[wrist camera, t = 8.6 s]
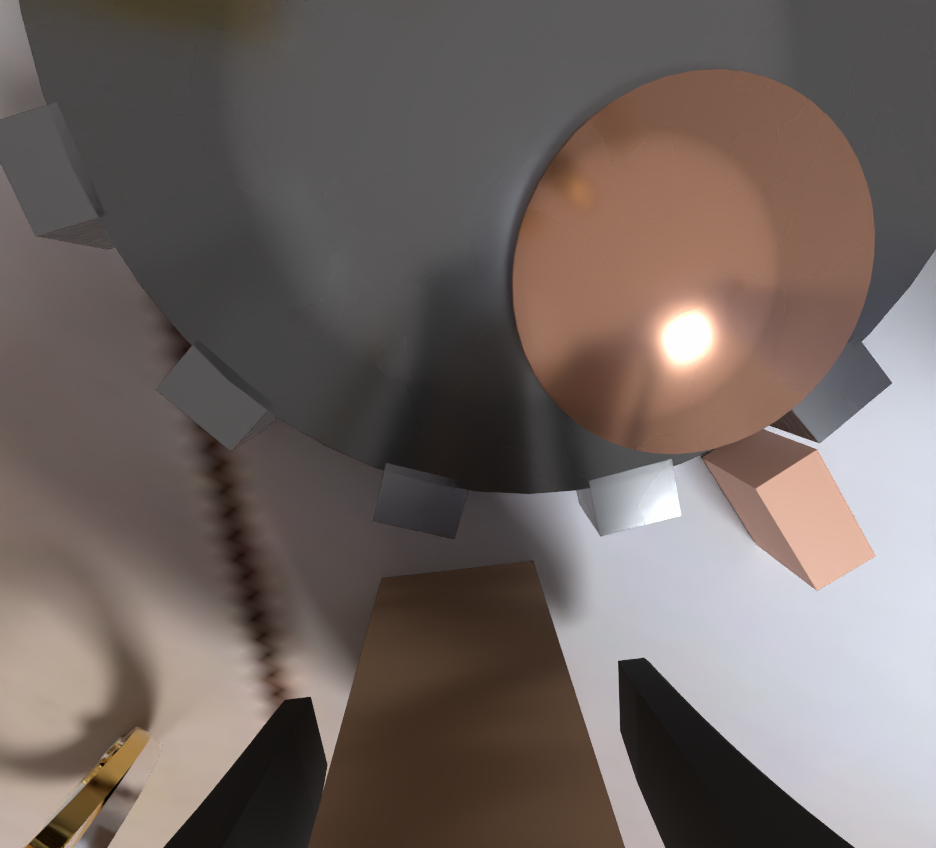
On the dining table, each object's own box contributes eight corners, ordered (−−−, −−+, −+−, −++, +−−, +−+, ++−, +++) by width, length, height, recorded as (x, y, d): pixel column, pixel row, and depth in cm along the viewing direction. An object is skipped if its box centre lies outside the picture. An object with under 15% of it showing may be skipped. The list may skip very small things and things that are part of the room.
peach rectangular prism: (702, 457, 11) (755, 488, 9) (751, 424, 11) (817, 449, 9) (756, 544, 12) (817, 590, 10) (803, 514, 11) (876, 556, 9)
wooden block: (532, 560, 12) (654, 940, 5) (545, 713, 13) (655, 1195, 6) (381, 577, 12) (271, 983, 5) (408, 728, 13) (353, 1231, 6)
